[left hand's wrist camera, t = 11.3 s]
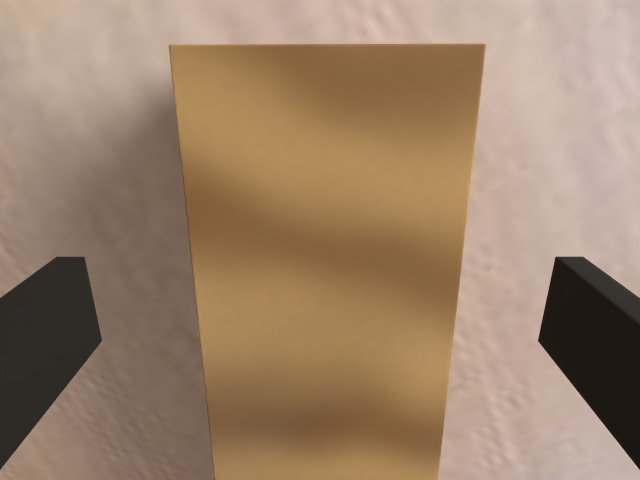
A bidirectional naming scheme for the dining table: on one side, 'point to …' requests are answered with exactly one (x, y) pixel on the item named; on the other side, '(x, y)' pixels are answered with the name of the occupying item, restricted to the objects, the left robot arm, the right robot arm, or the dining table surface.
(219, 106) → the thick board
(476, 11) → the dining table surface
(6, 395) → the left robot arm
